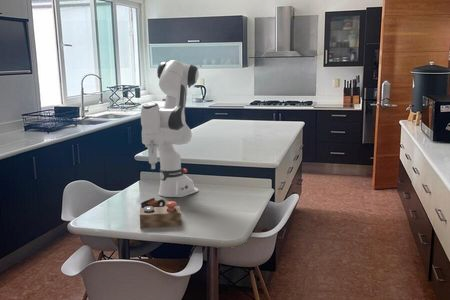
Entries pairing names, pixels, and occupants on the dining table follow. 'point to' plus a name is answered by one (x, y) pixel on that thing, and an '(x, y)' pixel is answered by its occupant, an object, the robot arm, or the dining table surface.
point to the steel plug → (149, 209)
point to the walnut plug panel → (160, 217)
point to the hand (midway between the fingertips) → (153, 168)
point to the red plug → (171, 205)
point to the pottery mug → (153, 203)
